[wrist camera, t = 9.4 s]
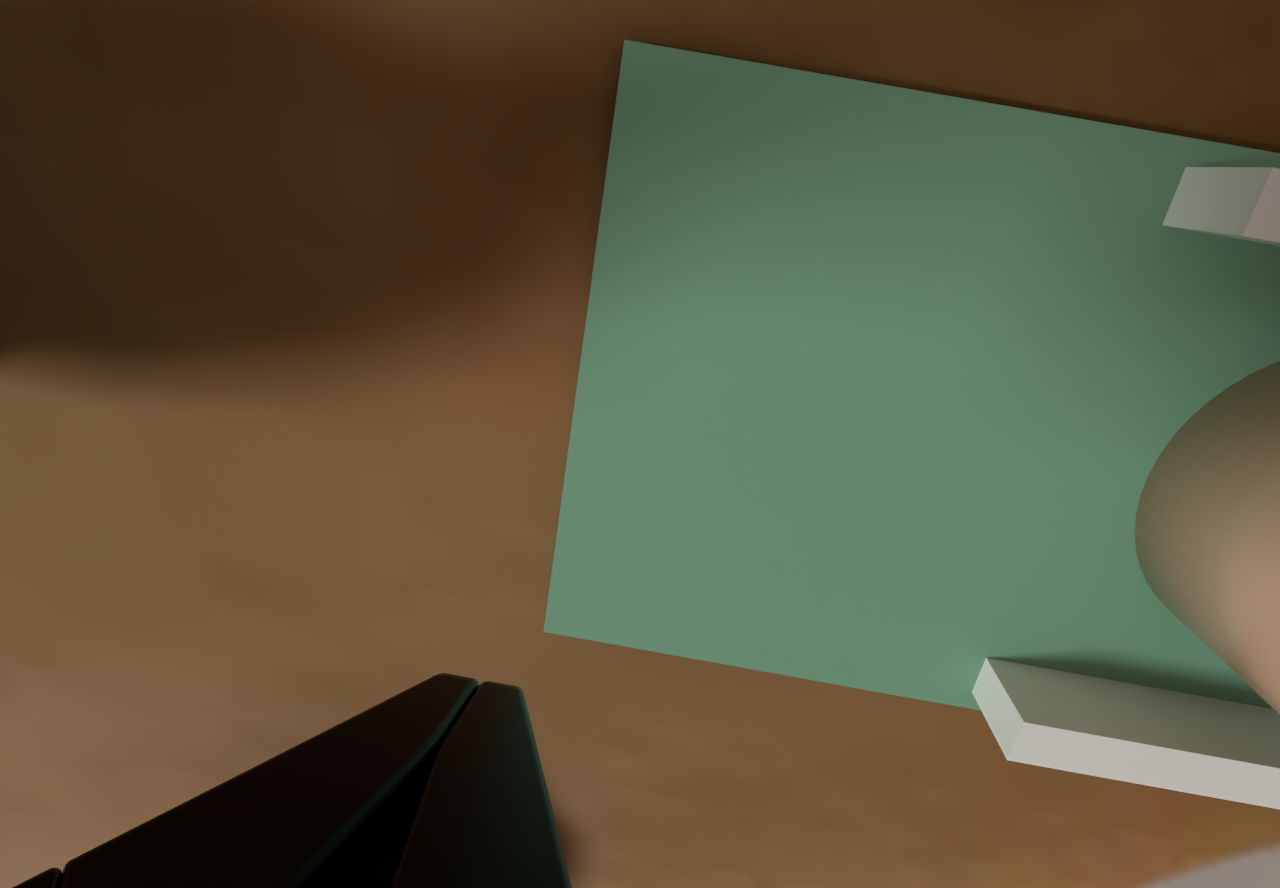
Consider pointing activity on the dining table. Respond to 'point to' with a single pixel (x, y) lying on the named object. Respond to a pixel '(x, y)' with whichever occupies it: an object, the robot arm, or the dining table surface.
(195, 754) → the dining table surface
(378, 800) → the robot arm
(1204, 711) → the white rail holder
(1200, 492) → the terracotta pot
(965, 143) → the green mat
